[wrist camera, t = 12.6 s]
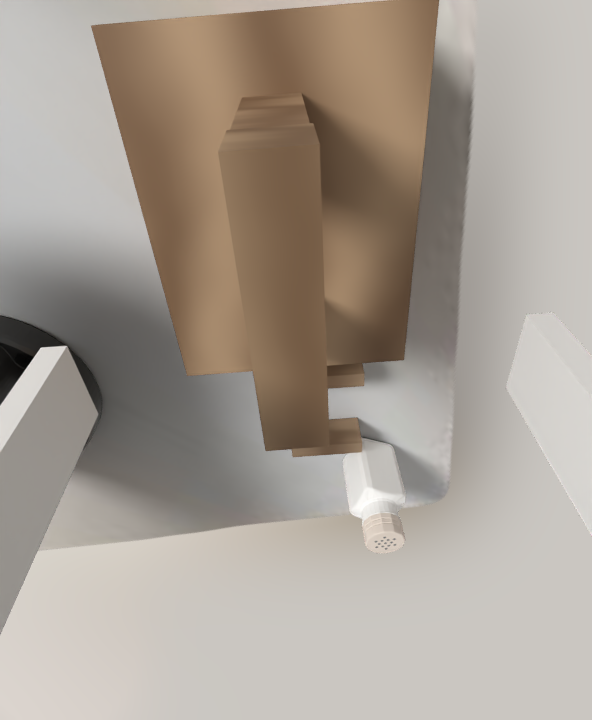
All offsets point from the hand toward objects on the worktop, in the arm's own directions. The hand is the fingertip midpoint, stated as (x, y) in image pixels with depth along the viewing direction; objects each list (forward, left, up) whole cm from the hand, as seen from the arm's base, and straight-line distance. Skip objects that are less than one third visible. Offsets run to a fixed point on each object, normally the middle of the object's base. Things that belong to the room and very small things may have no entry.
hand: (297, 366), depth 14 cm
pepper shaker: (+6, -26, -19) cm, 33 cm away
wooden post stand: (0, 0, -12) cm, 12 cm away
